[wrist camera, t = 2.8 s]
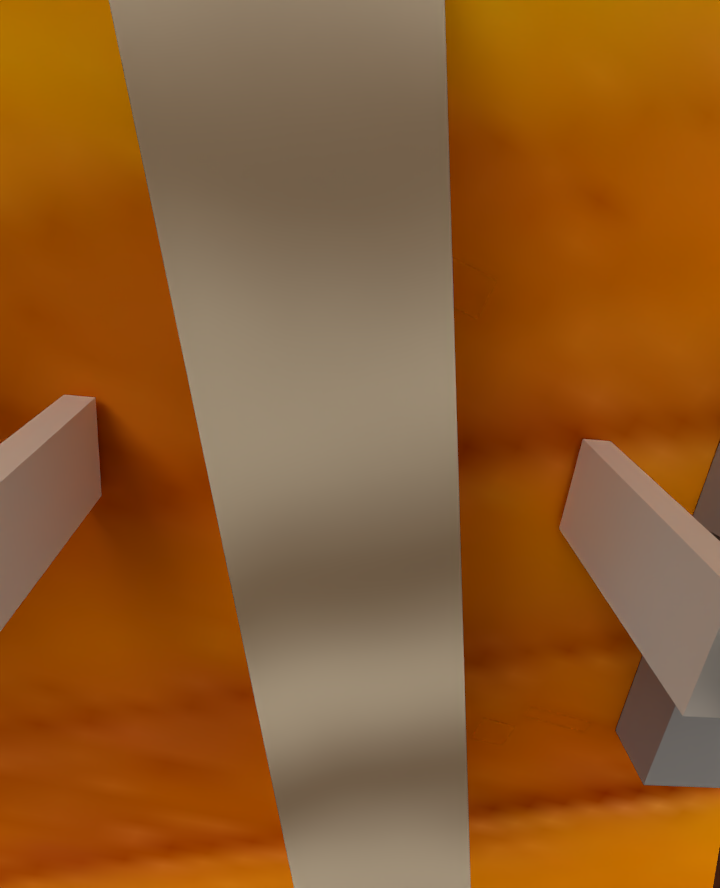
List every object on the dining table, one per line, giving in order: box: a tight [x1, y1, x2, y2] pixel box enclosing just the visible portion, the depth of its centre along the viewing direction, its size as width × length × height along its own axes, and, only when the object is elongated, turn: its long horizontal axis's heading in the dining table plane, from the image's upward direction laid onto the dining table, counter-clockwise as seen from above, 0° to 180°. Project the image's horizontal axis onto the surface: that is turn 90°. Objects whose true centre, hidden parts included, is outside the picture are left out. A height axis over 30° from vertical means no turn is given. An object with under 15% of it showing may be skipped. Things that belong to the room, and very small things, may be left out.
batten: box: [109, 0, 471, 888], centre depth 14 cm, size 24×4×5 cm, turn 5°
